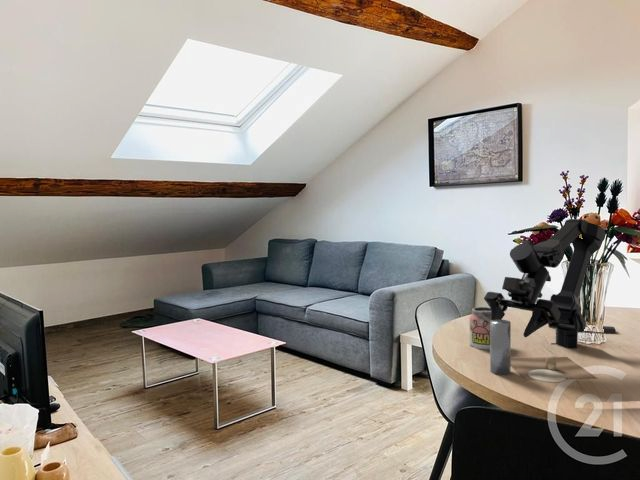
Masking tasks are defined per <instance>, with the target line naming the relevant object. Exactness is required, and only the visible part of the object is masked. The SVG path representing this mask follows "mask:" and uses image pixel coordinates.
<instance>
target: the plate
mask: <svg viewBox="0 0 640 480" xmlns="http://www.w3.org/2000/svg"><path fill="white" fill-rule="evenodd" d="M555 357H556V370H547V369H546V356H545V357H544V356H543V357H541V356H540V357H511V368H512V369H513V370H515V372H517V374H519V376H521V378H522V379H524V380H525V381H539V382H544V383H545V382H546V383H560V382H564V381H565V380H594V379H595V380H597V379H599V378H598V377H597V376H596V375H594V374H592V373H591V372H590V371H588V370H586V369H585V368H584V367H582V366H581V365H580V364H578V363H577V362H575V361H573V360H572V359H571V358H569V357H567V356H555Z"/></svg>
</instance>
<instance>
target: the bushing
mask: <svg viewBox="0 0 640 480" xmlns="http://www.w3.org/2000/svg"><path fill="white" fill-rule="evenodd" d="M511 325H512V324H511V321H510V320H507V319H502V320H500V319H497V320H491V321H490V349H489V351H490V352H489V353H490V355H489V357H490V359H489V361H490V366H489V367H490V368H489V370H490V373H491V374H493V375H496V376H509V375H511V371H512V369H511V368H512V367H511V358H512V357H511V355H512V354H511V350H512V349H511V347H512V346H511V342H512V341H511V340H512V339H511V336H512V335H511V331H512V329H511Z"/></svg>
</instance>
